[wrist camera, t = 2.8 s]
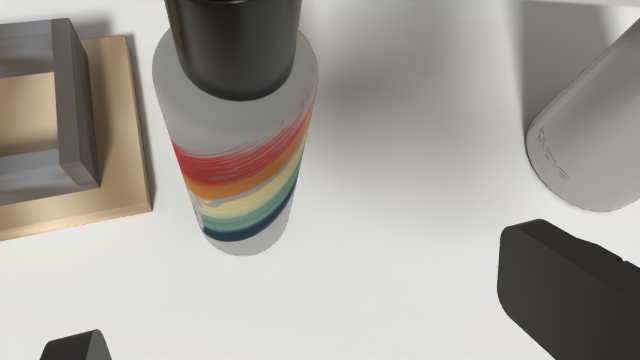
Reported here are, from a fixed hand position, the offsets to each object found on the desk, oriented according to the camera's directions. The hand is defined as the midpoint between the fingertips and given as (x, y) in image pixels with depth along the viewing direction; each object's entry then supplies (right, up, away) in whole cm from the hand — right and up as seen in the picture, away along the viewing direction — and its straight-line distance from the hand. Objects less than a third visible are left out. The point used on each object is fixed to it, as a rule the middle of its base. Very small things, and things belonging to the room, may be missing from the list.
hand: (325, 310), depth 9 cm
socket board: (-20, +5, +20) cm, 28 cm away
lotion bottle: (-5, 0, +20) cm, 21 cm away
